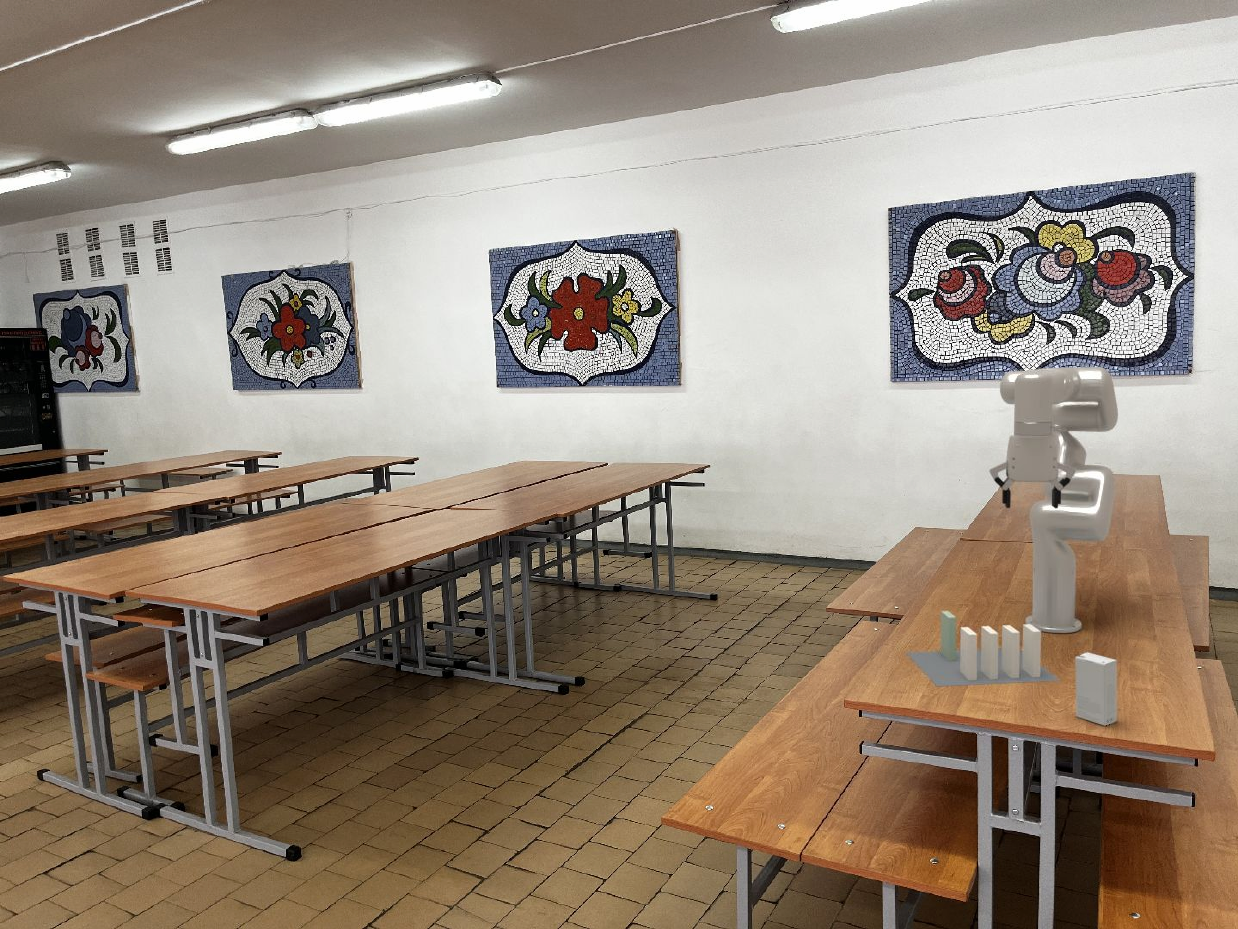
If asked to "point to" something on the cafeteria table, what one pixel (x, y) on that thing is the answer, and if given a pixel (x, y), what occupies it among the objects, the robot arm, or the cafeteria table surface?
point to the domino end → (948, 635)
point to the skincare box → (1096, 688)
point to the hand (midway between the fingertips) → (1031, 507)
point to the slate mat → (950, 673)
